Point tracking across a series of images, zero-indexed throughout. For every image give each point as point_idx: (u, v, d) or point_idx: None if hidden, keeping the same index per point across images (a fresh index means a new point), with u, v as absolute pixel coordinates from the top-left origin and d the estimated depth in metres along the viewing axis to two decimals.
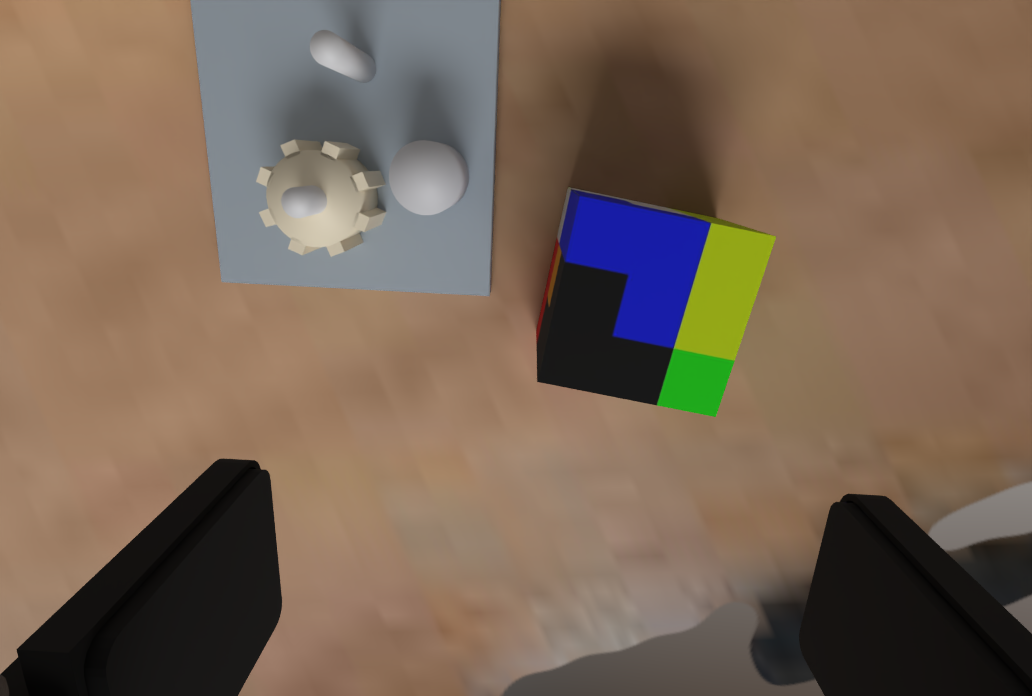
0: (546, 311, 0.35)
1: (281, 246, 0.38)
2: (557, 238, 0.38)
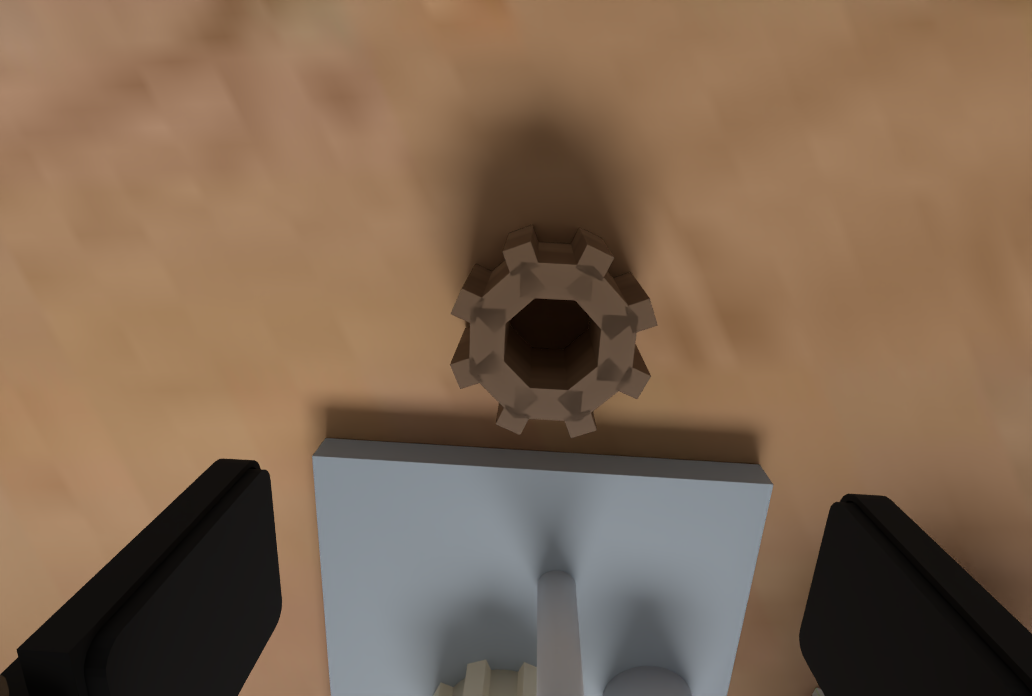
0: None
1: None
2: None
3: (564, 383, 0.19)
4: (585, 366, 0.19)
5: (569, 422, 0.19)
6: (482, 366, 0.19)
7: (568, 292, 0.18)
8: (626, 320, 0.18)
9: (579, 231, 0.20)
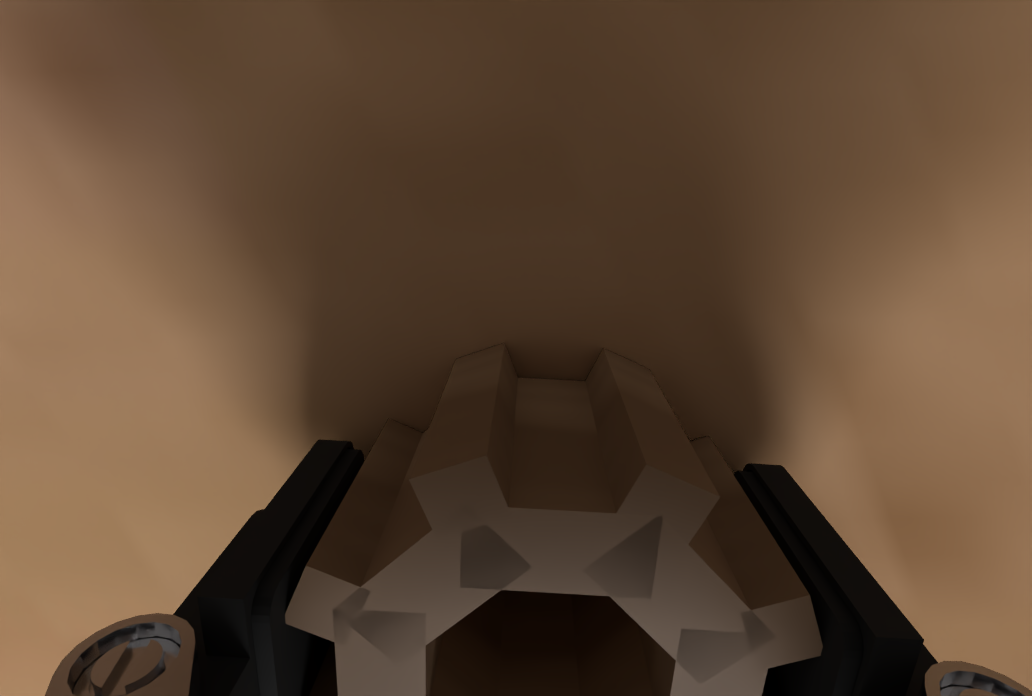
0: None
1: None
2: None
3: None
4: None
5: None
6: None
7: (591, 578, 0.07)
8: (743, 642, 0.07)
9: (606, 365, 0.09)
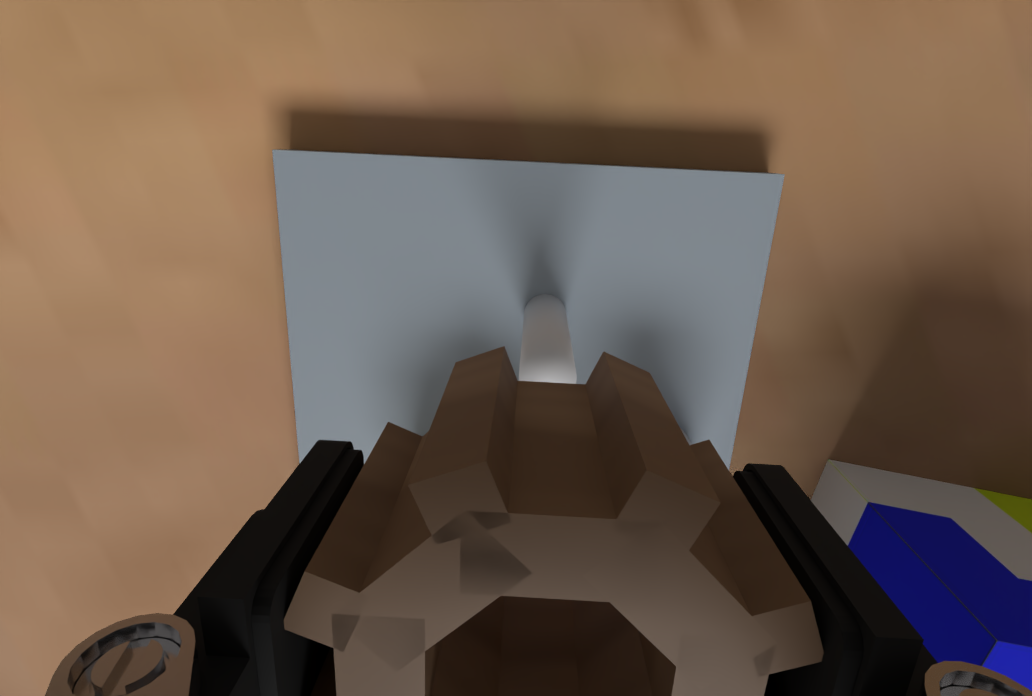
0: None
1: None
2: None
3: None
4: None
5: None
6: None
7: (591, 584, 0.07)
8: (744, 648, 0.07)
9: (606, 368, 0.09)
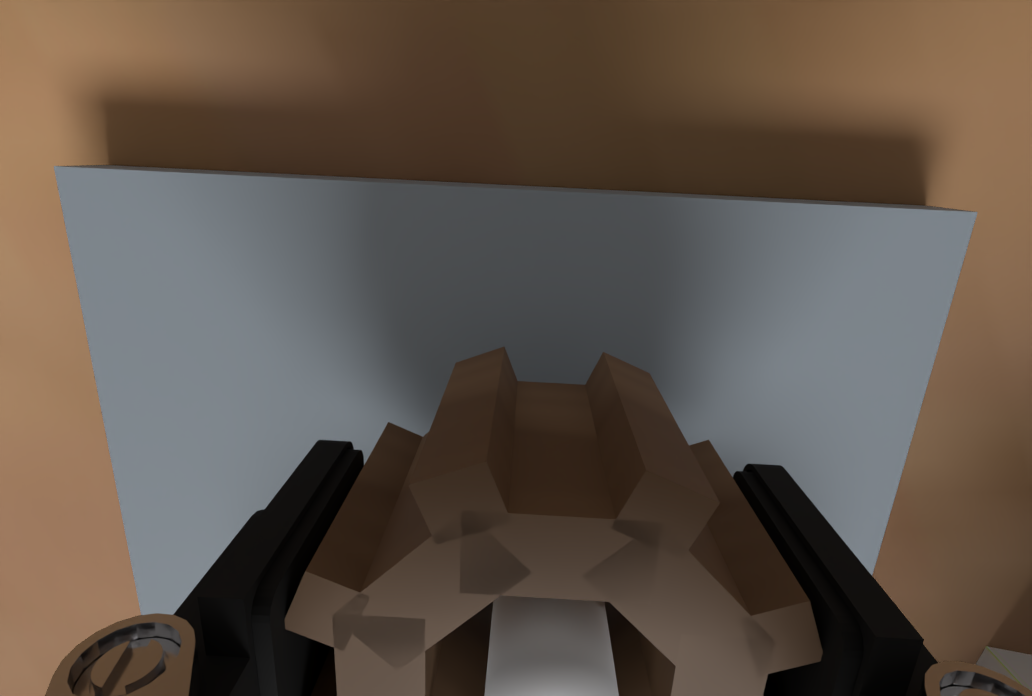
0: None
1: None
2: None
3: None
4: None
5: None
6: None
7: (591, 584, 0.07)
8: (743, 648, 0.07)
9: (605, 369, 0.09)
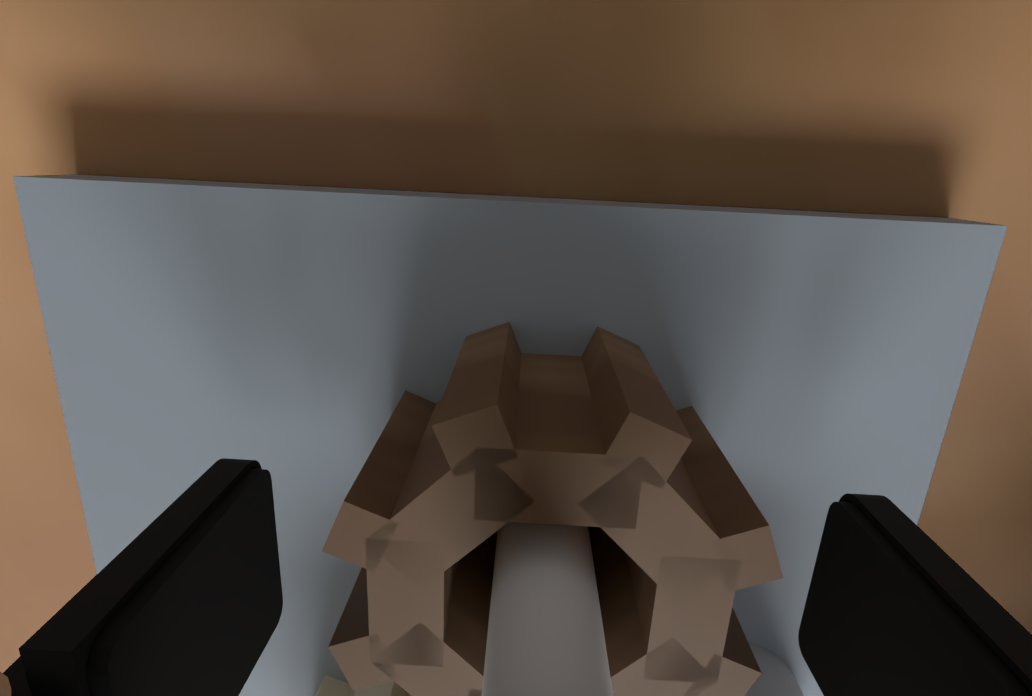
0: None
1: None
2: None
3: None
4: (616, 631, 0.09)
5: None
6: (398, 651, 0.09)
7: (584, 511, 0.08)
8: (714, 567, 0.08)
9: (599, 340, 0.11)
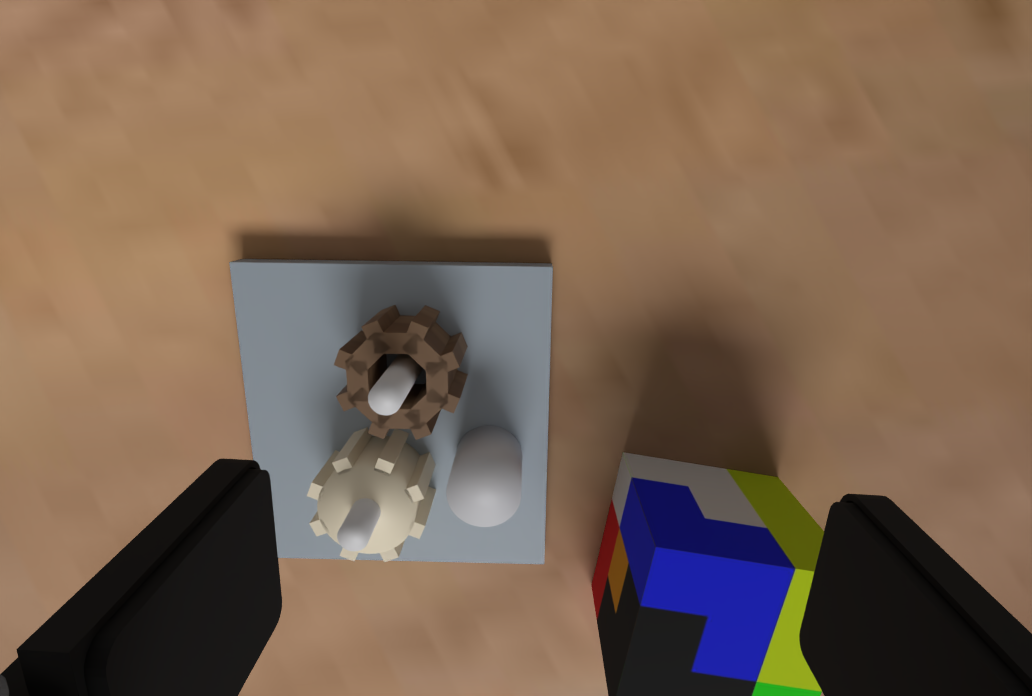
0: (610, 605, 0.33)
1: None
2: (613, 505, 0.37)
3: (410, 405, 0.31)
4: (423, 394, 0.31)
5: (413, 429, 0.31)
6: (356, 396, 0.30)
7: (403, 349, 0.29)
8: (440, 365, 0.30)
9: (422, 308, 0.32)
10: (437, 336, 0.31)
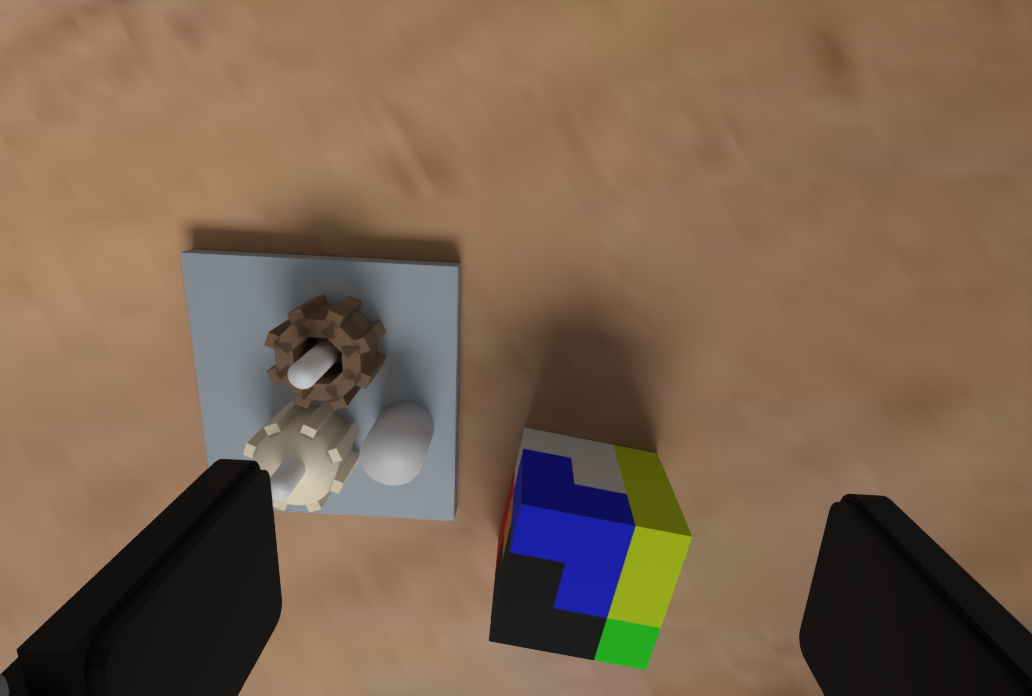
0: (501, 555, 0.40)
1: None
2: (514, 472, 0.43)
3: (330, 381, 0.36)
4: (341, 372, 0.36)
5: (332, 401, 0.36)
6: (283, 372, 0.36)
7: (322, 334, 0.35)
8: (353, 348, 0.35)
9: (345, 298, 0.37)
10: (356, 323, 0.37)
